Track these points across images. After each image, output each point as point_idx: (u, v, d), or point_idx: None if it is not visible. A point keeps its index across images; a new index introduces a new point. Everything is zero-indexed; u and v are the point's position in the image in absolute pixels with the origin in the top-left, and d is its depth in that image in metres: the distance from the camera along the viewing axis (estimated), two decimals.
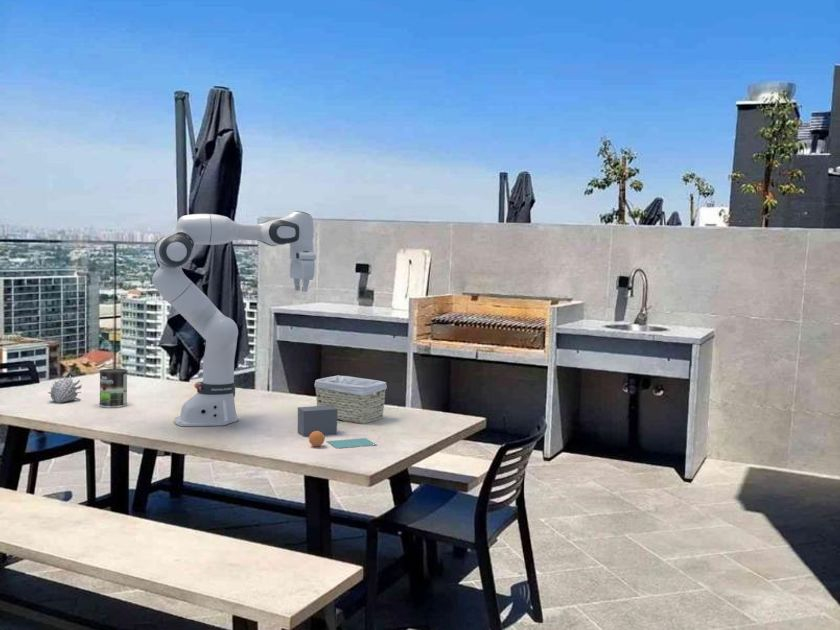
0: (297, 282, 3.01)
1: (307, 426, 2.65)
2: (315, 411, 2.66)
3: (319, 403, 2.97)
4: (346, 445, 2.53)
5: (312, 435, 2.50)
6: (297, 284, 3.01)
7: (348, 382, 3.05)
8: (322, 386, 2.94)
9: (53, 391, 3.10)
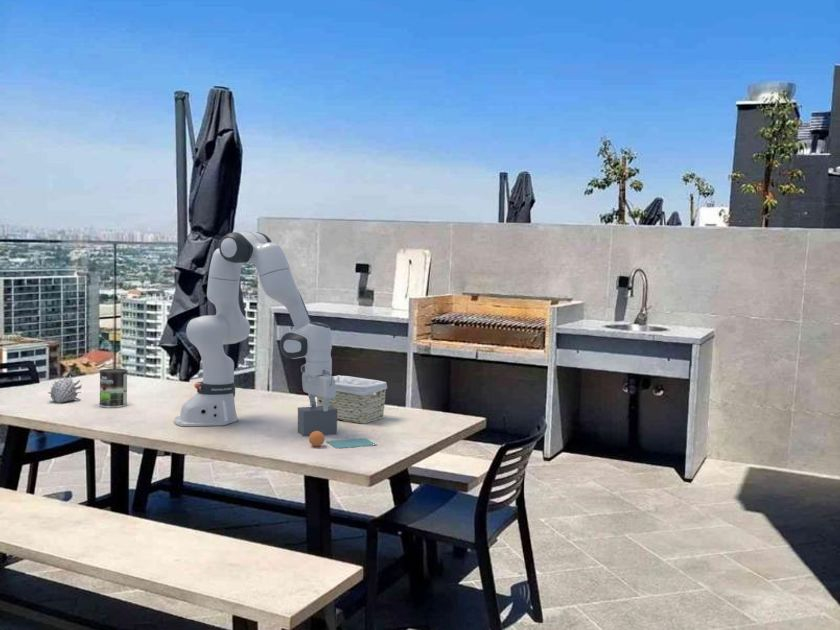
0: None
1: (307, 426, 2.65)
2: (315, 411, 2.66)
3: (320, 403, 2.97)
4: (346, 445, 2.53)
5: (312, 435, 2.50)
6: None
7: (349, 382, 3.06)
8: None
9: (53, 391, 3.10)
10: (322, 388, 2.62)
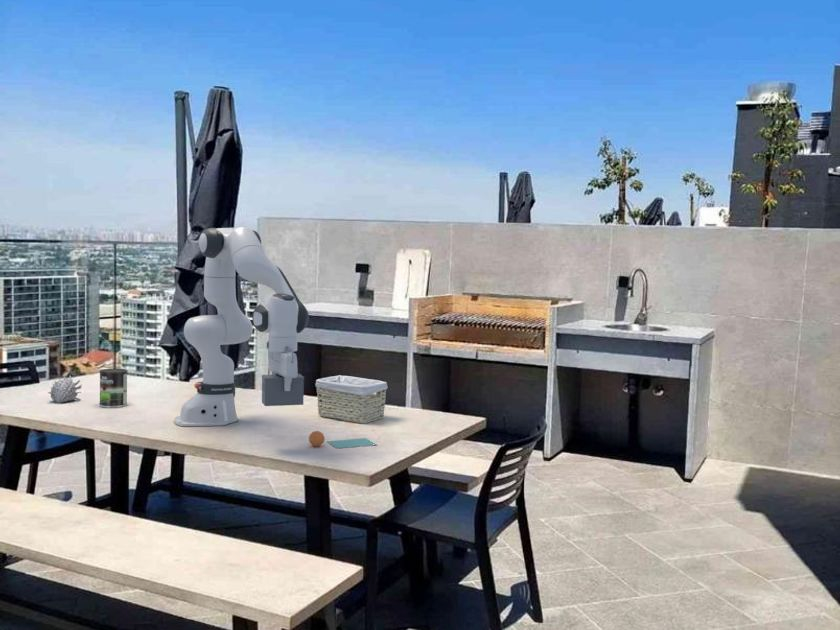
0: None
1: (269, 394, 2.42)
2: (278, 378, 2.43)
3: (320, 403, 2.98)
4: (346, 445, 2.53)
5: (312, 435, 2.50)
6: None
7: (349, 382, 3.06)
8: (323, 386, 2.95)
9: (53, 391, 3.10)
10: (283, 366, 2.39)
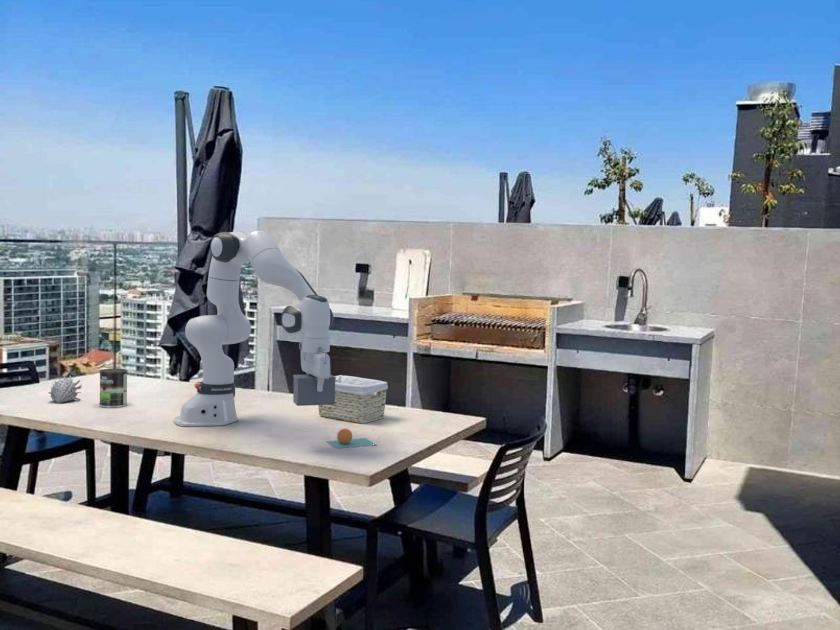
0: None
1: (302, 394, 2.45)
2: (310, 379, 2.46)
3: None
4: (346, 445, 2.53)
5: (346, 443, 2.56)
6: None
7: (350, 382, 3.06)
8: None
9: (53, 391, 3.10)
10: (316, 367, 2.43)
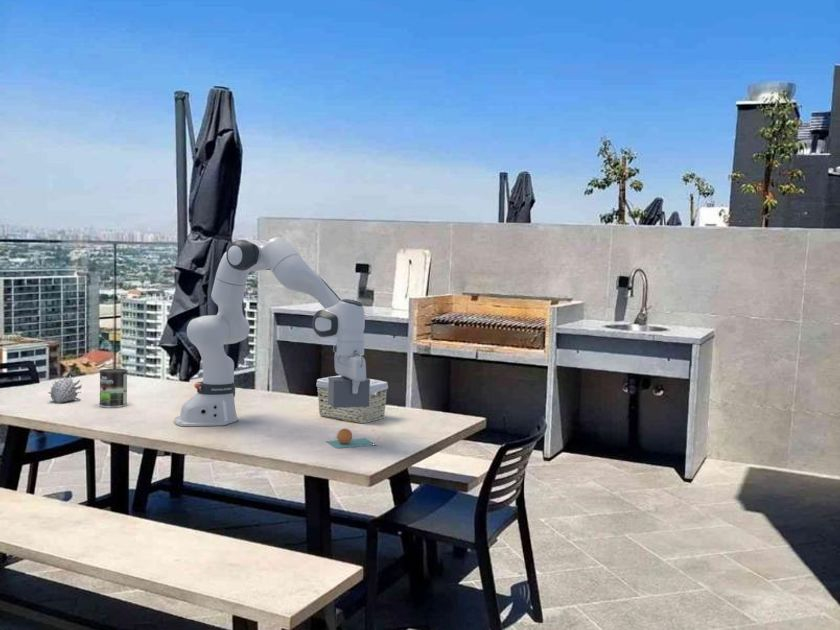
0: None
1: (338, 396, 2.51)
2: (346, 381, 2.51)
3: (321, 402, 2.98)
4: (346, 445, 2.53)
5: (346, 443, 2.56)
6: None
7: None
8: (323, 385, 2.96)
9: (53, 391, 3.10)
10: (352, 369, 2.48)
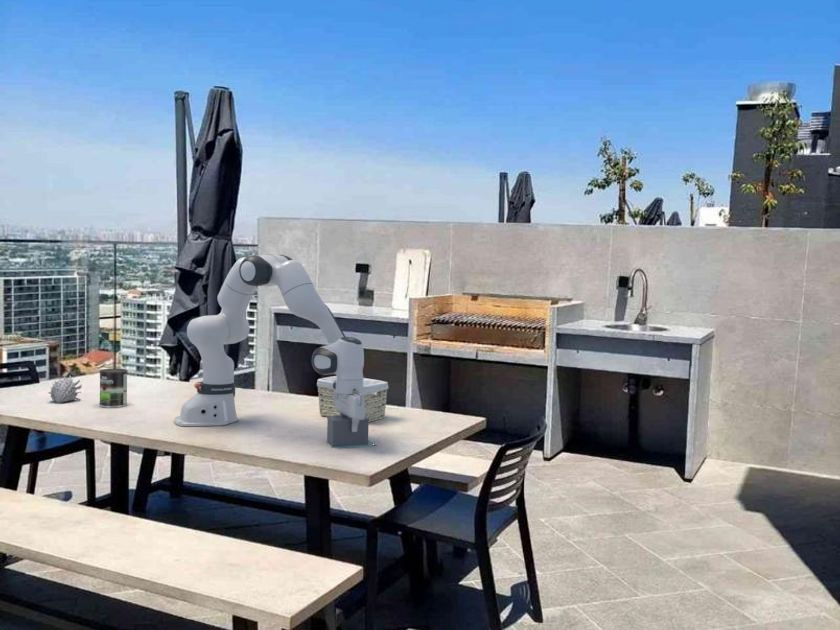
0: None
1: (337, 436, 2.51)
2: (345, 421, 2.52)
3: (321, 402, 2.99)
4: None
5: None
6: None
7: None
8: (324, 385, 2.96)
9: (53, 391, 3.10)
10: (351, 408, 2.49)
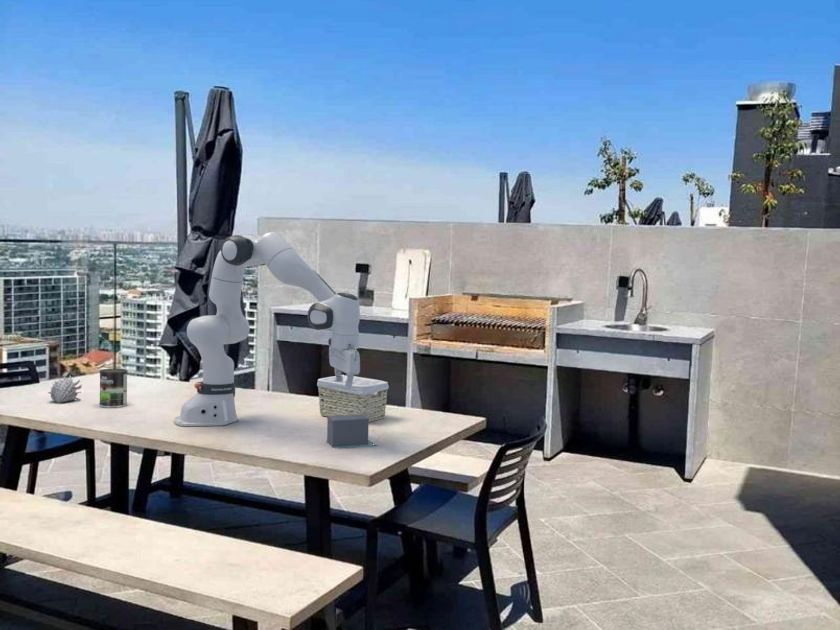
0: None
1: (337, 436, 2.51)
2: (345, 421, 2.52)
3: (322, 402, 2.99)
4: None
5: None
6: None
7: (352, 382, 3.07)
8: (324, 385, 2.96)
9: (53, 391, 3.10)
10: (346, 363, 2.50)
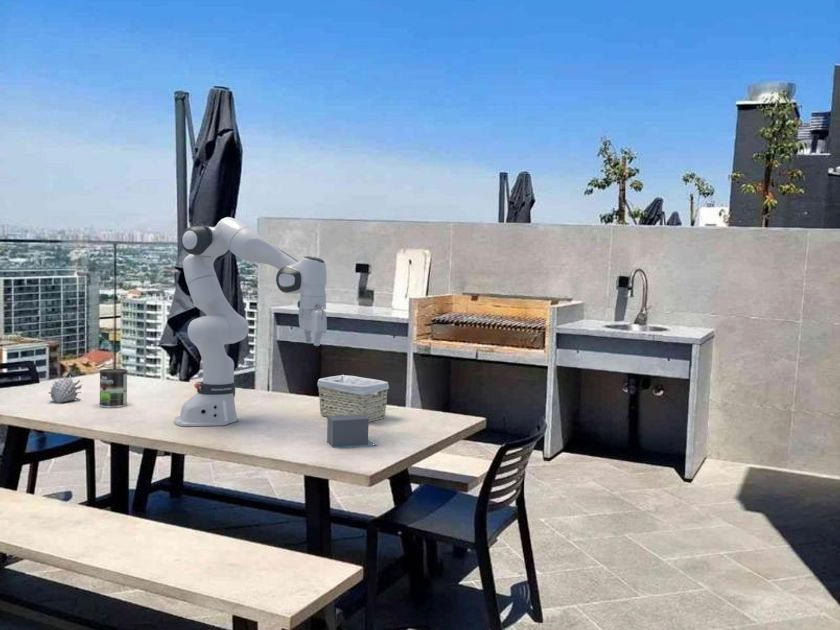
0: None
1: (337, 436, 2.51)
2: (345, 421, 2.52)
3: (322, 402, 2.99)
4: None
5: None
6: None
7: (352, 382, 3.07)
8: (324, 385, 2.97)
9: (53, 391, 3.10)
10: (314, 322, 2.61)
